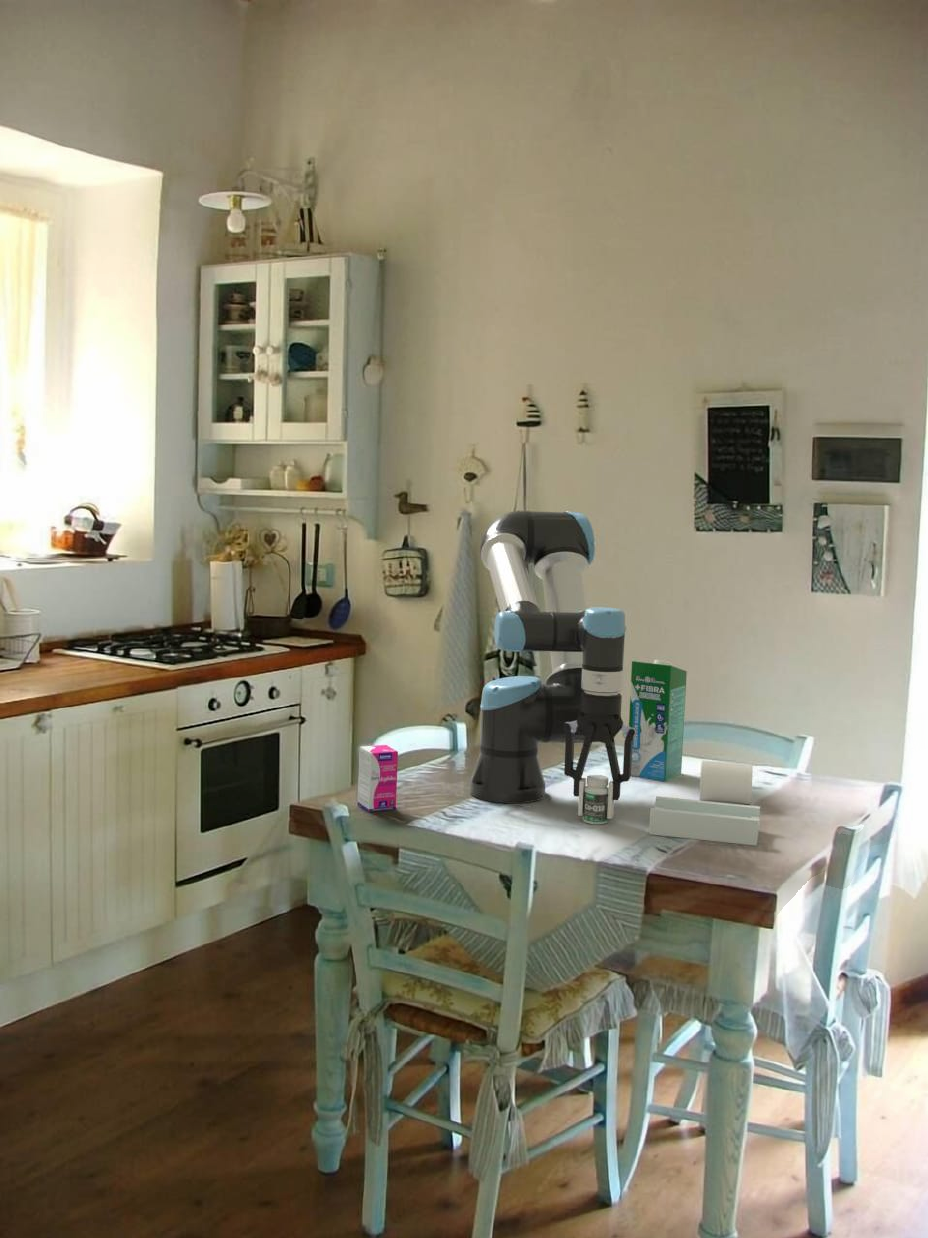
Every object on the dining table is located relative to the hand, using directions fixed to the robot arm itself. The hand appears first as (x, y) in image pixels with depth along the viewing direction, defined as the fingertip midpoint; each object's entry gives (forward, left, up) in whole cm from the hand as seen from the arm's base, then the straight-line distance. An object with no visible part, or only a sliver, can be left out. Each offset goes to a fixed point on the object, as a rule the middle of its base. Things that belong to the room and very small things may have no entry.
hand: (595, 814), depth 230 cm
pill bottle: (0, 0, -1) cm, 1 cm away
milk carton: (+6, +41, -1) cm, 41 cm away
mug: (+22, +26, -2) cm, 34 cm away
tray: (+20, +1, -1) cm, 20 cm away
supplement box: (-41, -6, -2) cm, 41 cm away
